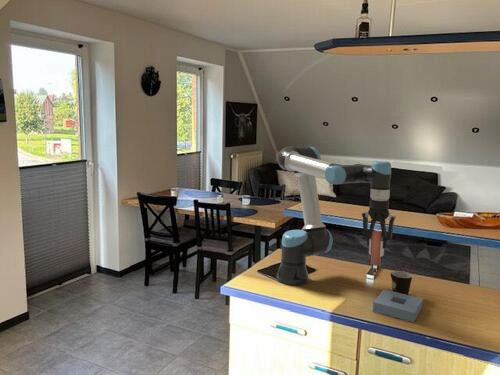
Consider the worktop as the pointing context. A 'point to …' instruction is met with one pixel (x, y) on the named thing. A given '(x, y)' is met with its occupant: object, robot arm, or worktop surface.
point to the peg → (376, 247)
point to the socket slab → (398, 305)
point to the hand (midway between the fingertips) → (376, 254)
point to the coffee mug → (401, 281)
